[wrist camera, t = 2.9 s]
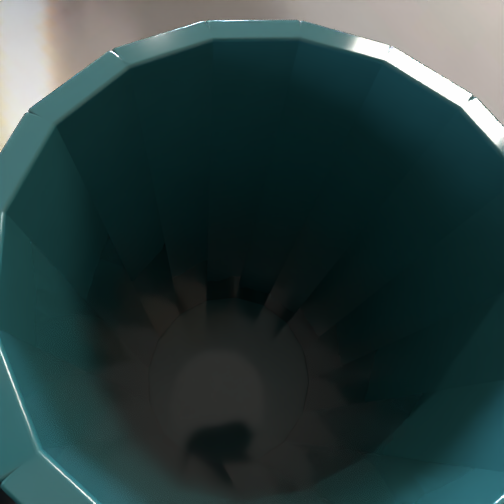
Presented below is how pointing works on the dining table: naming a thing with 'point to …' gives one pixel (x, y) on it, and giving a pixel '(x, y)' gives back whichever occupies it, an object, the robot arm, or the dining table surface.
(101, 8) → the dining table surface
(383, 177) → the cup
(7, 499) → the robot arm
